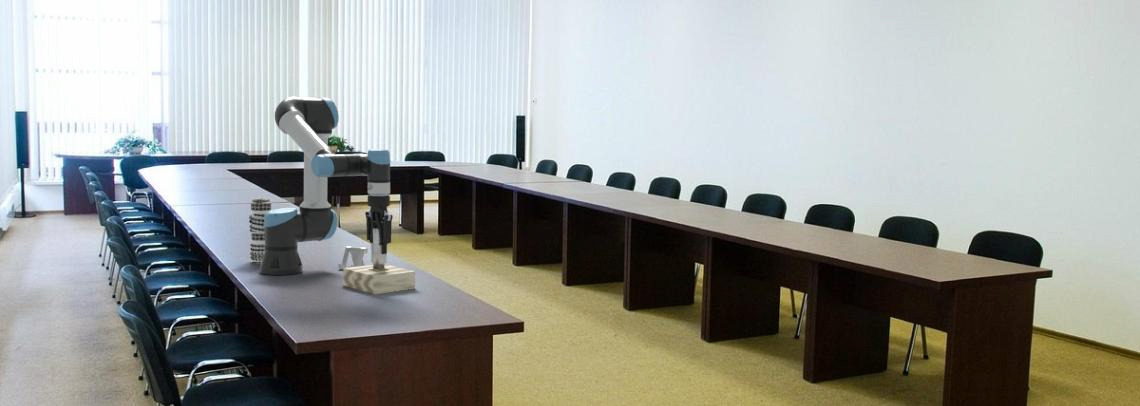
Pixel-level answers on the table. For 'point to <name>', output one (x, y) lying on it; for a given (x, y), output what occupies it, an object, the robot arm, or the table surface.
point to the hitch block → (378, 279)
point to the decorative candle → (258, 227)
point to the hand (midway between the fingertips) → (378, 262)
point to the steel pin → (376, 250)
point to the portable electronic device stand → (353, 257)
